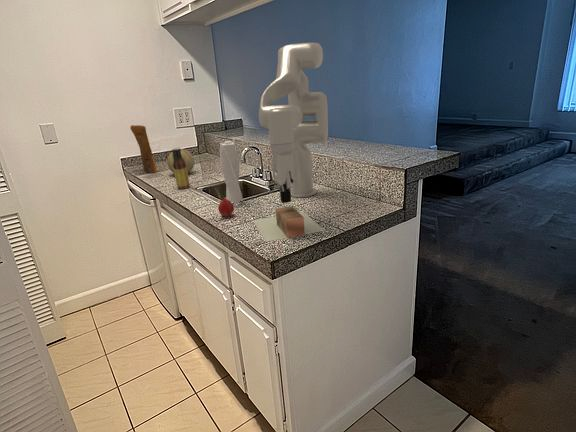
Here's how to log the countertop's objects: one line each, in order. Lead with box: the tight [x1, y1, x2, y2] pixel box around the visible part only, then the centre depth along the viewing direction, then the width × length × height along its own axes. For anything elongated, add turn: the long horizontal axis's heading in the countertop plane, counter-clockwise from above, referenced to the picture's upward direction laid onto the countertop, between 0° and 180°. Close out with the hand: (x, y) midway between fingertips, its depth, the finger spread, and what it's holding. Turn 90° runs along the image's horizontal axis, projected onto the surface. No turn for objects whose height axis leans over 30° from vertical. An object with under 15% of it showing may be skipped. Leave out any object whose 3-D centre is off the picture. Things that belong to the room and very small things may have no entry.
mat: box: [252, 211, 325, 243], centre depth 126 cm, size 20×20×1 cm
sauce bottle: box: [171, 147, 190, 190], centre depth 177 cm, size 7×6×20 cm
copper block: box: [275, 205, 306, 239], centre depth 121 cm, size 6×6×12 cm
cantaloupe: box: [166, 148, 195, 174], centre depth 205 cm, size 15×15×15 cm
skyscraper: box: [219, 137, 244, 206], centre depth 149 cm, size 8×8×28 cm
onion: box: [218, 197, 235, 218], centre depth 136 cm, size 6×6×8 cm
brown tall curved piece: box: [129, 124, 158, 174], centre depth 215 cm, size 7×19×28 cm, turn 39°
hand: (286, 201), depth 122 cm, fingers closed
